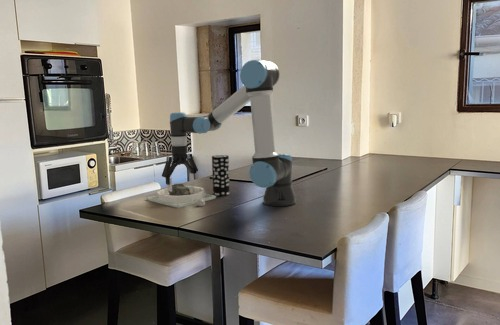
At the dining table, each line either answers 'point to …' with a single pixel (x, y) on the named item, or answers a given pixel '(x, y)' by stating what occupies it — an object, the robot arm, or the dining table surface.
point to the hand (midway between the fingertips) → (181, 188)
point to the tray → (155, 199)
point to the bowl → (195, 195)
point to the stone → (179, 190)
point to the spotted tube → (220, 175)
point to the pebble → (200, 202)
